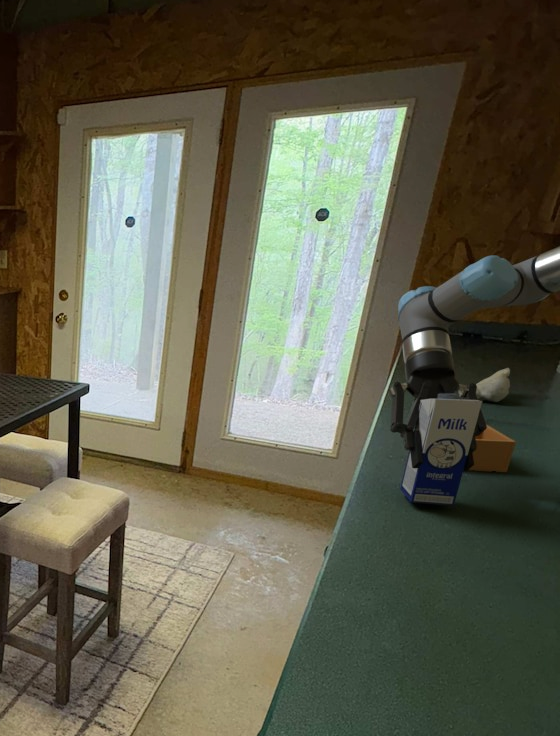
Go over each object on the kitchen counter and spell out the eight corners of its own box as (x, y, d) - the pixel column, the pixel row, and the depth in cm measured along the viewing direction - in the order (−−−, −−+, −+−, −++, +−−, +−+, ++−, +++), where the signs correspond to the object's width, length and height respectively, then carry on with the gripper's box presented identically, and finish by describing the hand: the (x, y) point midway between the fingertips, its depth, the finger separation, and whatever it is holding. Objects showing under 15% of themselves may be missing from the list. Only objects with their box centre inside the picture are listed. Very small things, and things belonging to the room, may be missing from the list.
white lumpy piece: (483, 414, 177) (540, 381, 171) (465, 393, 178) (521, 360, 173) (465, 416, 191) (517, 386, 185) (448, 397, 192) (500, 367, 187)
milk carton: (409, 502, 116) (435, 398, 109) (398, 489, 122) (422, 389, 115) (454, 505, 114) (484, 399, 107) (441, 492, 120) (468, 390, 113)
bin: (478, 453, 143) (487, 424, 140) (506, 472, 132) (516, 441, 129) (415, 450, 146) (422, 422, 144) (437, 468, 135) (445, 438, 132)
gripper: (478, 371, 122) (497, 478, 113) (362, 370, 127) (372, 471, 119) (499, 349, 115) (521, 460, 107) (376, 348, 121) (387, 454, 112)
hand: (442, 466), depth 113 cm, fingers closed on milk carton, 7 cm apart
